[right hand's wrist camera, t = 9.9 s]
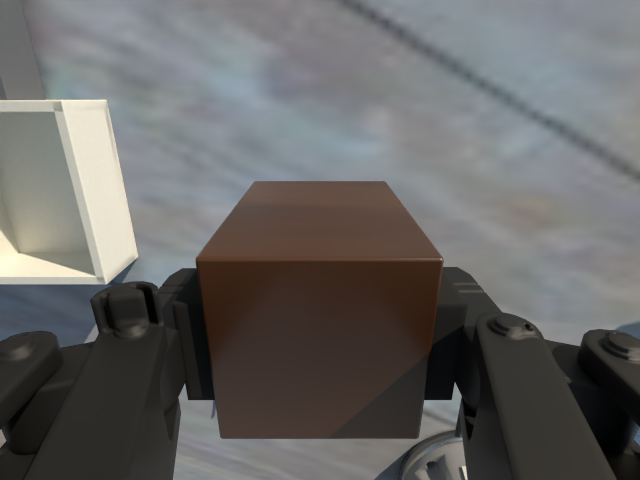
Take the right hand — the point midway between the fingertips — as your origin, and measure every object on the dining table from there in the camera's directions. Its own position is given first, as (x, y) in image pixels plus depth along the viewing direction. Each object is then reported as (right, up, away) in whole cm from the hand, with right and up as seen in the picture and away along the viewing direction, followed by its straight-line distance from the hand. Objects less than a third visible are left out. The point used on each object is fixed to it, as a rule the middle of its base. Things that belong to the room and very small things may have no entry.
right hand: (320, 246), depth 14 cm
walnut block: (0, 0, 0) cm, 0 cm away
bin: (-24, +11, +17) cm, 31 cm away
